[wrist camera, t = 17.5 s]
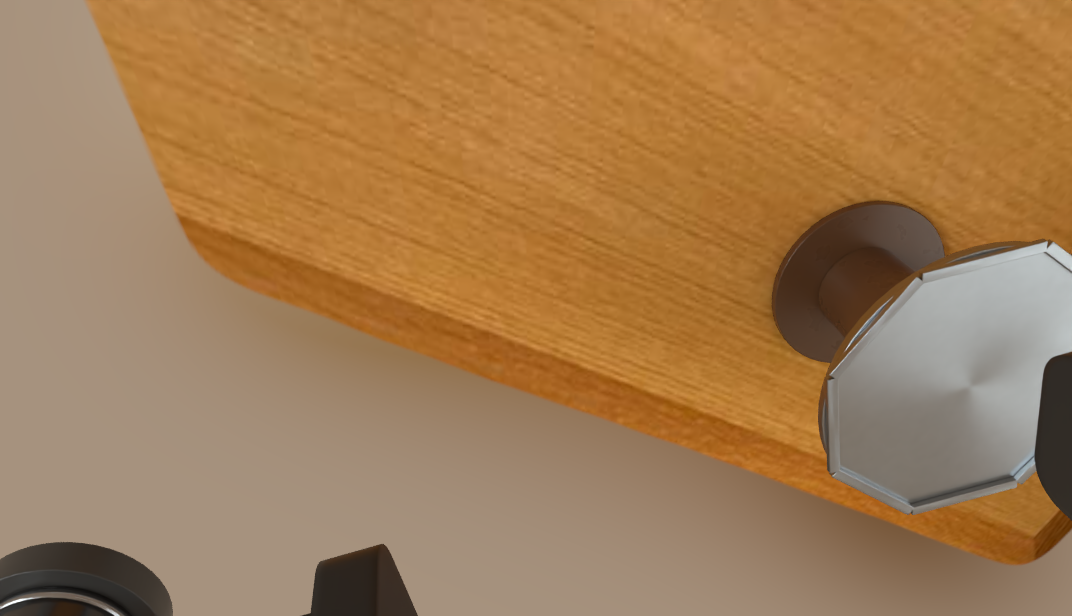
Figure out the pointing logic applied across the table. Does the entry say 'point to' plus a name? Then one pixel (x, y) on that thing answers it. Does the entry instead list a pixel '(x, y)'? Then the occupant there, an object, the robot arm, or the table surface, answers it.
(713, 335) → the table surface
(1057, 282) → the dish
